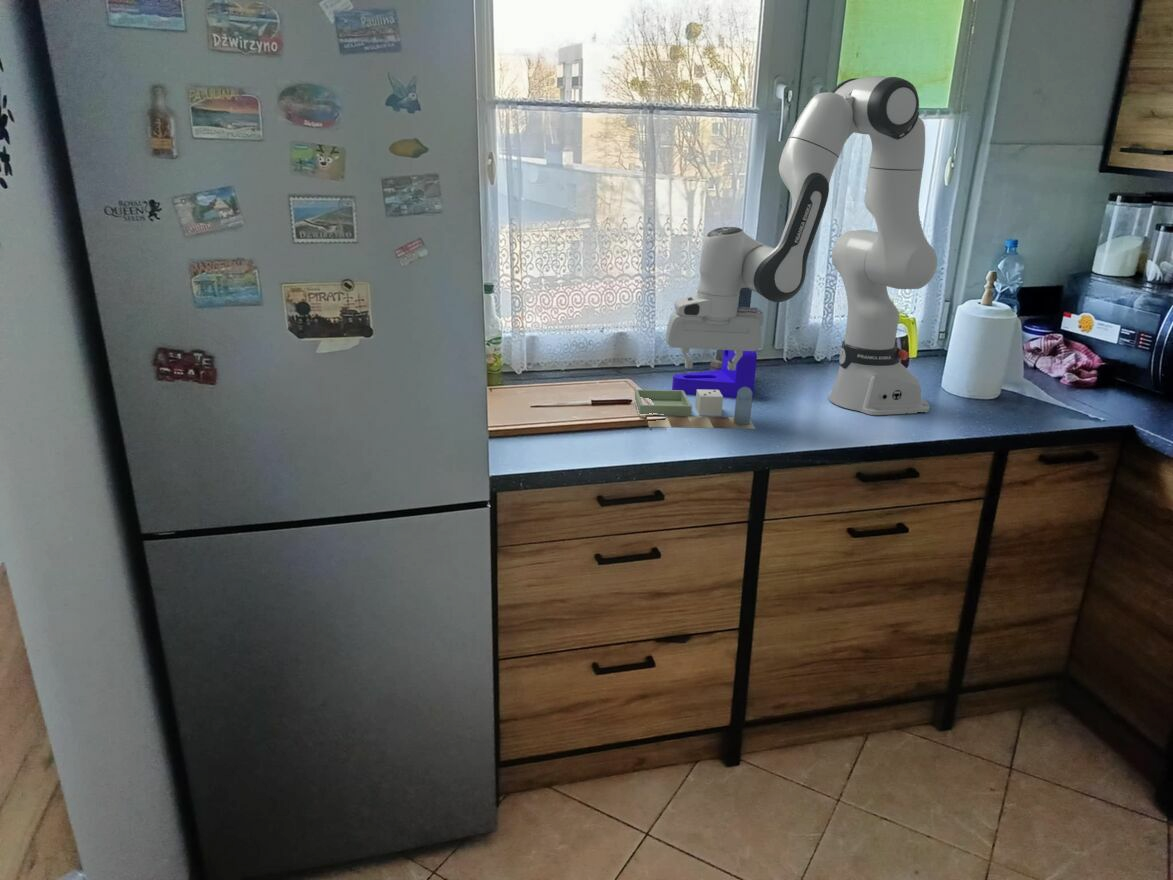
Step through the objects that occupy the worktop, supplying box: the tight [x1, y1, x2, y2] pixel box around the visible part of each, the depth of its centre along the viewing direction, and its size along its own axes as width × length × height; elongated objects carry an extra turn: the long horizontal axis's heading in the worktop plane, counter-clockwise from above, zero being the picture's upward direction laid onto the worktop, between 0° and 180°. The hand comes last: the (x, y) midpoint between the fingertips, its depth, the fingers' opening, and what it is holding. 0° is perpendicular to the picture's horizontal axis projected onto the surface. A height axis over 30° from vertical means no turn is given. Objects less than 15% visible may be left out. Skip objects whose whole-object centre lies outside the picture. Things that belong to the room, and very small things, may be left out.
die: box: [694, 389, 724, 417], centre depth 194 cm, size 5×5×5 cm
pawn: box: [733, 387, 753, 425], centre depth 187 cm, size 3×3×8 cm
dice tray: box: [634, 389, 692, 416], centre depth 196 cm, size 11×11×3 cm
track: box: [647, 415, 756, 430], centre depth 188 cm, size 22×7×1 cm, turn 93°
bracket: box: [671, 350, 758, 399], centre depth 207 cm, size 18×11×12 cm, turn 99°
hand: (709, 368), depth 191 cm, fingers open, 8 cm apart
